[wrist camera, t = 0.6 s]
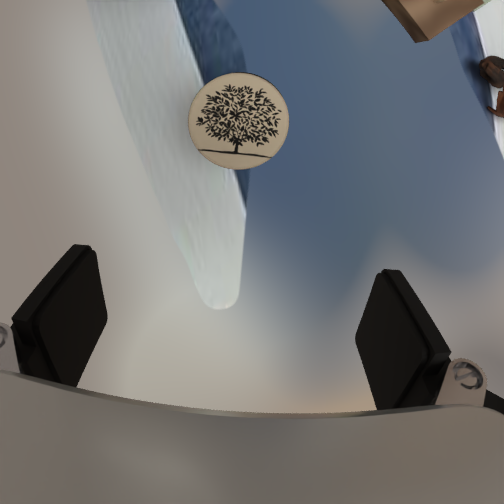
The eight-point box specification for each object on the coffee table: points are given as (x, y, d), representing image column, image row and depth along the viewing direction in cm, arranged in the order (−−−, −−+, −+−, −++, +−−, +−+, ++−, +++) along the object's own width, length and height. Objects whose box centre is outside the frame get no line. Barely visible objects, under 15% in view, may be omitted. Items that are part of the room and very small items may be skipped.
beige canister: (221, 72, 36) (198, 59, 20) (283, 88, 37) (305, 86, 21) (206, 131, 40) (174, 160, 24) (266, 145, 41) (275, 184, 25)
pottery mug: (514, 66, 32) (545, 96, 28) (488, 104, 40) (515, 135, 35) (477, 32, 28) (514, 60, 24) (448, 77, 36) (480, 109, 32)
